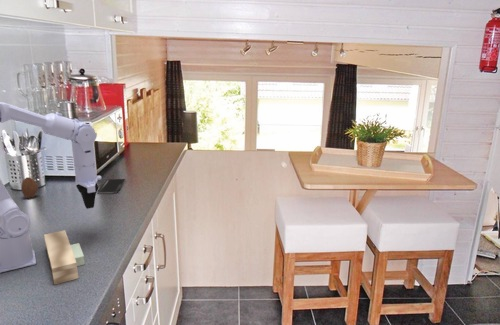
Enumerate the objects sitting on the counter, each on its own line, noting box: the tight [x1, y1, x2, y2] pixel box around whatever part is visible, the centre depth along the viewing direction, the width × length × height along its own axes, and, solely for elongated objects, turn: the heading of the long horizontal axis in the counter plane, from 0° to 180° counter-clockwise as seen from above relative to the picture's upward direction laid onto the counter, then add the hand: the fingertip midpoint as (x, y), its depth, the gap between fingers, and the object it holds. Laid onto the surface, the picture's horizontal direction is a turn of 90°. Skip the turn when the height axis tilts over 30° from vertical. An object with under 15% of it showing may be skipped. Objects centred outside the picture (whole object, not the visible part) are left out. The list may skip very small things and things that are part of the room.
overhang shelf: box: [43, 230, 79, 286], centre depth 106 cm, size 6×20×4 cm, turn 31°
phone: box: [96, 178, 127, 195], centre depth 160 cm, size 8×1×15 cm
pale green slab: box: [70, 242, 86, 267], centre depth 107 cm, size 7×8×2 cm
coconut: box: [20, 176, 39, 199], centre depth 147 cm, size 5×5×8 cm
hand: (89, 207), depth 118 cm, fingers closed
